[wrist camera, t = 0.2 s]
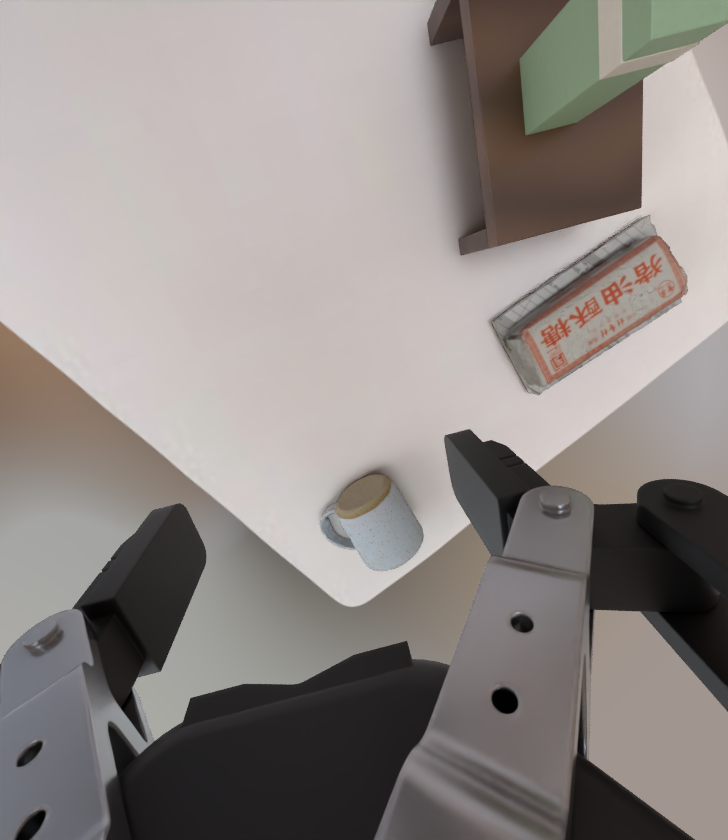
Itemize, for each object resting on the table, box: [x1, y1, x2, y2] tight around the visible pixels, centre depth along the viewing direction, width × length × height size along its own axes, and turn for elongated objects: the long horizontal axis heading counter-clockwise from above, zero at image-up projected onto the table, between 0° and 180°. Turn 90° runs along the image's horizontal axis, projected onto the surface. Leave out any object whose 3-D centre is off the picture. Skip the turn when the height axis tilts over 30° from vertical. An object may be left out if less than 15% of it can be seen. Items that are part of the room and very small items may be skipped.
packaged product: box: [492, 215, 688, 395], centre depth 38 cm, size 18×5×10 cm
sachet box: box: [519, 0, 728, 135], centre depth 21 cm, size 5×4×11 cm
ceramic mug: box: [320, 474, 424, 571], centre depth 41 cm, size 11×8×8 cm
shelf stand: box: [427, 0, 643, 255], centre depth 30 cm, size 18×12×8 cm, turn 14°
